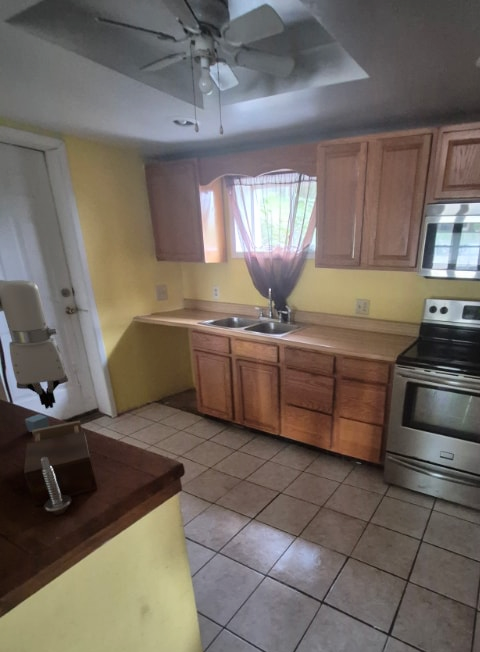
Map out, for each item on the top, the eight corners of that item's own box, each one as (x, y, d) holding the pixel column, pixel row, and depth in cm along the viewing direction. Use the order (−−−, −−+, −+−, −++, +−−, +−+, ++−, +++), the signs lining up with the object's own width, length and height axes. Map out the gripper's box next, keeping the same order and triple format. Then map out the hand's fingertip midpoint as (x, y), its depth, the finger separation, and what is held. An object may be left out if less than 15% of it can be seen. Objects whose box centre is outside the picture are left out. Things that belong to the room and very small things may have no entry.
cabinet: (37, 475, 88) (26, 443, 84) (91, 461, 94) (84, 431, 90) (35, 507, 77) (24, 472, 74) (97, 489, 83) (89, 456, 80)
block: (36, 434, 106) (33, 422, 104) (28, 431, 107) (24, 419, 106) (50, 428, 109) (47, 416, 107) (42, 425, 111) (38, 413, 109)
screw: (54, 522, 73) (41, 513, 76) (78, 508, 77) (65, 500, 79) (36, 466, 68) (23, 459, 70) (63, 454, 72) (49, 448, 74)
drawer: (39, 445, 99) (32, 422, 96) (83, 435, 104) (78, 413, 101) (38, 477, 85) (30, 452, 82) (89, 464, 90) (83, 440, 88)
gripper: (66, 329, 94) (81, 396, 101) (-8, 335, 86) (14, 406, 94) (68, 335, 88) (83, 405, 95) (-12, 342, 81) (12, 418, 88)
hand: (49, 406), depth 94 cm, fingers closed
